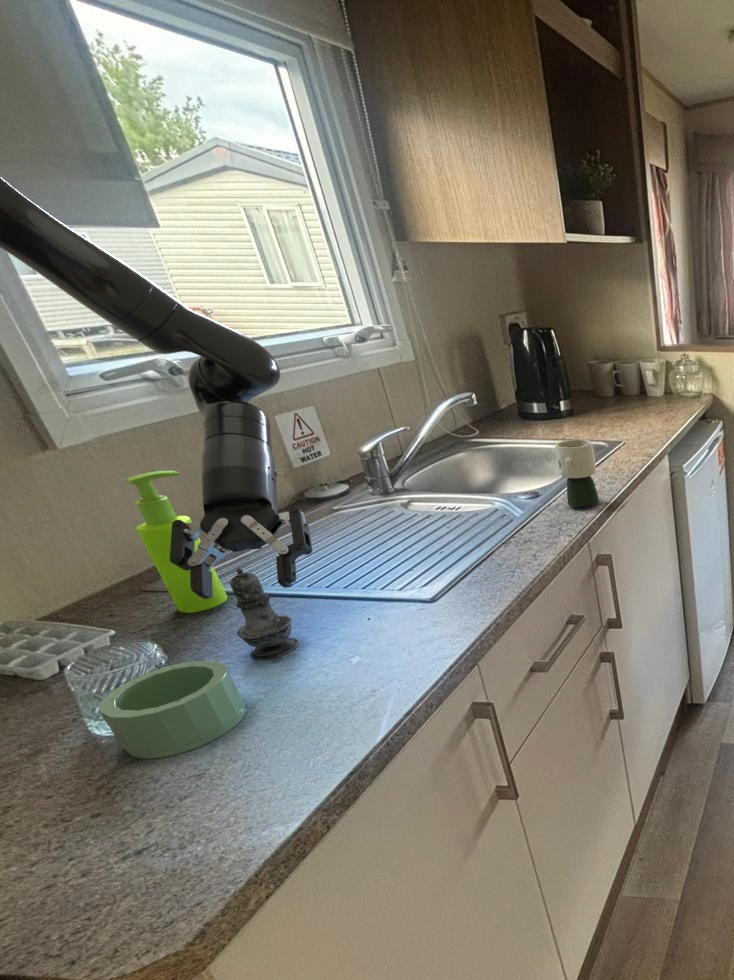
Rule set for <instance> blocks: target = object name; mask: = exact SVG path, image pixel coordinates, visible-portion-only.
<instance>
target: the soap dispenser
mask: <svg viewBox="0 0 734 980" xmlns="http://www.w3.org/2000/svg"><path fill="white" fill-rule="evenodd" d="M179 475H180V472H178V471H175V470H156V471H149V472H145V473H144V472H143V473H141V474H137V475H133V476H130V477H126V478H124V480H125V481H126V483H127V484H129V485H132V486H133V485H134V486H135V487H136V489H137V491H138V493H139V495H140V496H141V497H140V498H139V499H138V500H137V501H135V504H136V506H137V508H138V511H139V512H140V514H141V516H142V518H143V520H144V522H143V523H141V524H139V525H137V526H136V527H135V530H136V531H137V534H138V536H139V537H140V540H141V542H142V543H143V545H144V547H145V549H146V551H147V553H148V555H149V556H150V558H151V561H152V562H153V564H154V567H155V568H156V570H157V572H158V574H159V576H160V578H161V580H162V581H163V583H164V585H165V587H166V589H167V591H168V593H169V595H170V597H171V599H172V601H173V603H174V605H175V606H176V608H177V610H178V612H180V613H183V614H185V613H186V614H187V613H188V614H191V613H199V612H203V611H206V610H210V609H214V608H216V607H218V606H221V605H222V604H224V603H225V602H227V600H228V595H227V593H226V591H225V588H224V586H223V584H222V582H221V580H220V578H219V575H218V574H217V571H216V570H215V567H214V566H213V567H212V568H211V569H210V570H209V571H211V572H212V587H213V597H212V598H209V599H203V598H201V597H199V596H198V595H197V594H196V593H194V592H193V591H192V590H191V582H190V570H183V569H182V568H180V567H178V566H176V565H175V564H173V563H171V562H170V547H171V532H172V523H173V522H174V521H175V520H182V521H183V522H185V523H193V521H192V519H191V518H190V517H189V516H187V515H177V514H176V511H175V509H174V508H173V505H172V503H171V501H170V499H169V498H168V496H166V495H162V494H158V492H157V490H156V488H155V486H154V484H153V482H152V481H153V480H157V479H161V478H168V477H178V476H179ZM201 541H202V539H201V538H200V537H199V539H198V540H195V544H194V553H195V552H196V551H197V549H198V544H199V543H200V542H201Z"/></svg>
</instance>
